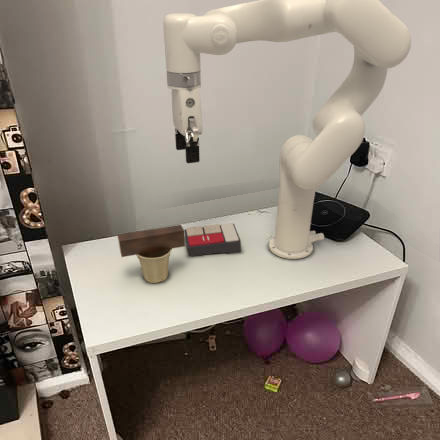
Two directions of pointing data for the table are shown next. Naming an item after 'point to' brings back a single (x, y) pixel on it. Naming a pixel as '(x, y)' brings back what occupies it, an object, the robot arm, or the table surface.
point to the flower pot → (155, 265)
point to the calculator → (212, 239)
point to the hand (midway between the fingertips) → (187, 155)
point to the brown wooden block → (151, 240)
